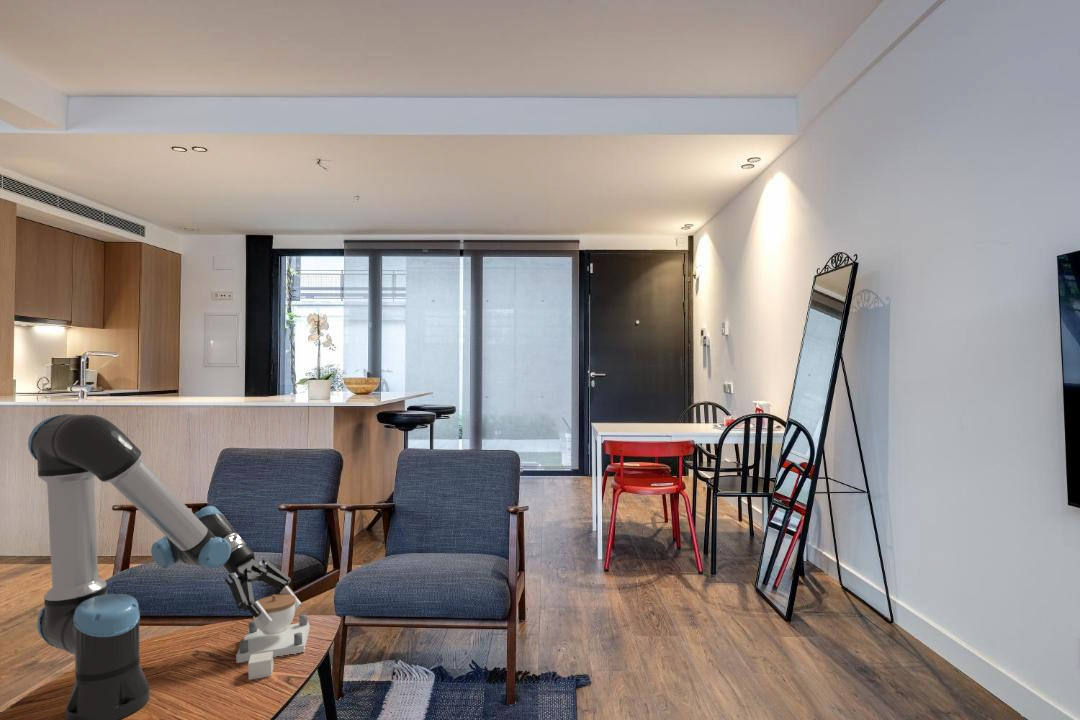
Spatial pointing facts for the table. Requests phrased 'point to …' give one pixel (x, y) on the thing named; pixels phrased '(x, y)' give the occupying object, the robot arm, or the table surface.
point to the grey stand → (274, 640)
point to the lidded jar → (277, 612)
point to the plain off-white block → (260, 665)
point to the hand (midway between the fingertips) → (283, 615)
